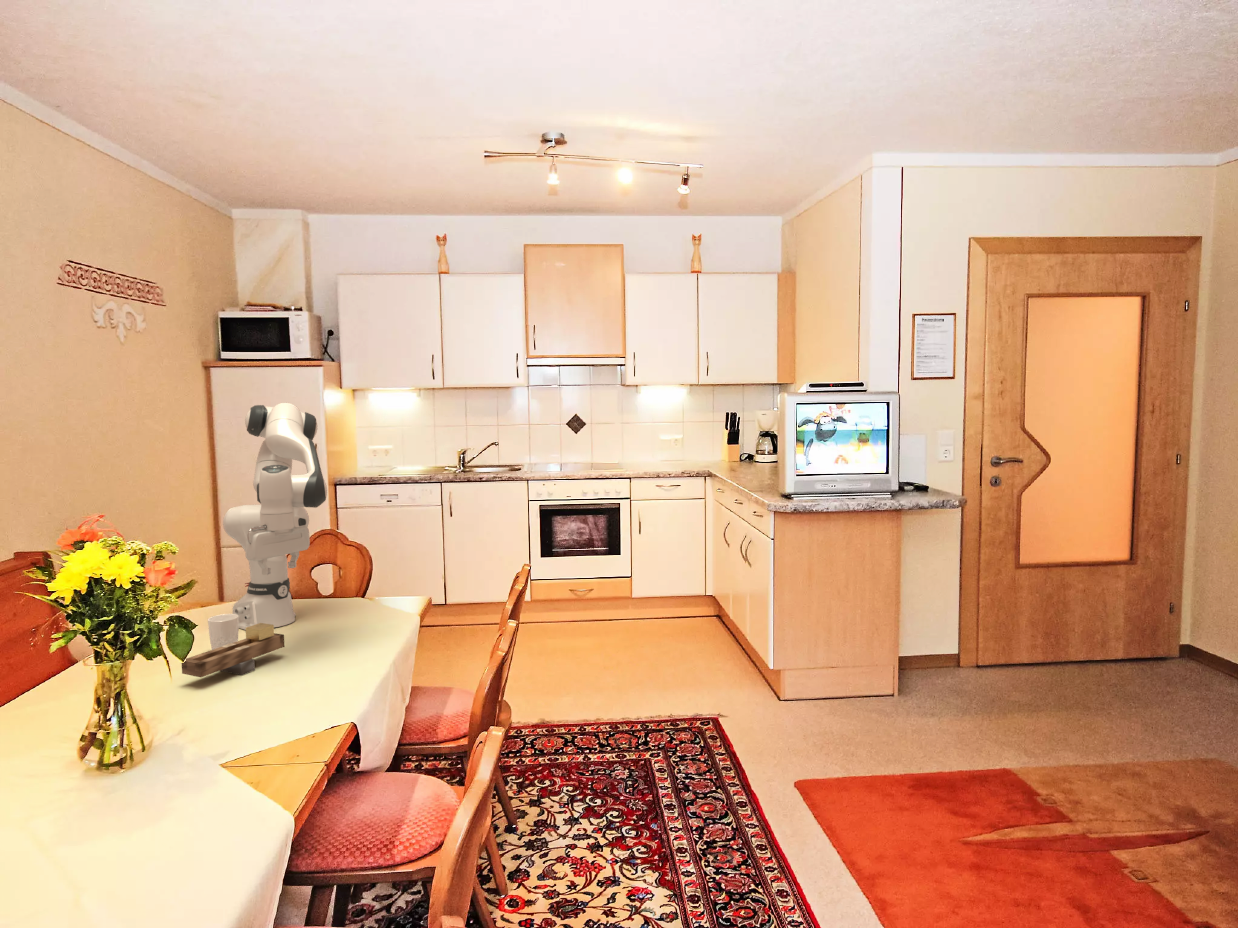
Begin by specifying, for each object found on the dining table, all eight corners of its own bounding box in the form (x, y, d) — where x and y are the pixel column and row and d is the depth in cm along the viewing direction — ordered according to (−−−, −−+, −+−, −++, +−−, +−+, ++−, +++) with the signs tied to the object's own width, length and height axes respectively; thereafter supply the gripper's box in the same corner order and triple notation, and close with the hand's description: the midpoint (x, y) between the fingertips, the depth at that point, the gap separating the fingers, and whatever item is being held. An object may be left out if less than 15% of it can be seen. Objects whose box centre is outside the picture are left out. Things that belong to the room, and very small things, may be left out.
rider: (259, 648, 209) (258, 629, 209) (246, 646, 211) (245, 627, 211) (274, 643, 214) (273, 624, 213) (261, 641, 216) (260, 622, 215)
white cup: (245, 647, 225) (244, 613, 224) (229, 656, 217) (227, 621, 216) (220, 646, 226) (218, 613, 225) (203, 655, 218) (201, 621, 217)
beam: (204, 689, 192) (202, 663, 191) (180, 684, 196) (178, 659, 195) (287, 657, 216) (286, 634, 215) (264, 653, 219) (263, 630, 219)
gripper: (256, 528, 206) (258, 579, 207) (312, 518, 225) (314, 564, 226) (238, 527, 208) (240, 577, 209) (296, 517, 227) (297, 563, 228)
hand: (279, 571), depth 217 cm, fingers open, 8 cm apart
